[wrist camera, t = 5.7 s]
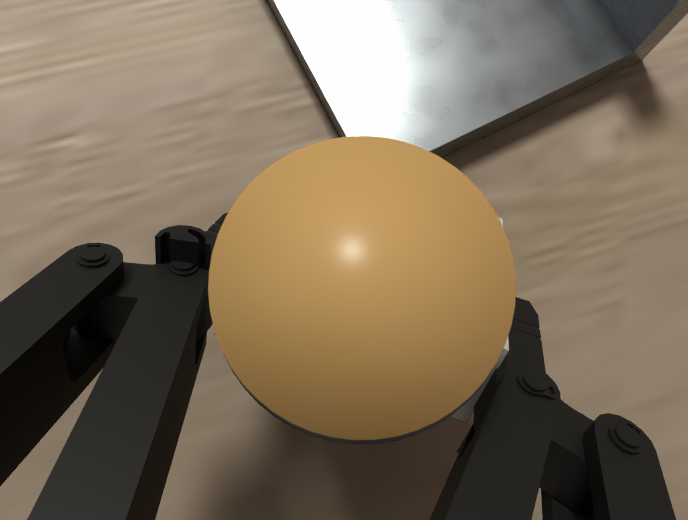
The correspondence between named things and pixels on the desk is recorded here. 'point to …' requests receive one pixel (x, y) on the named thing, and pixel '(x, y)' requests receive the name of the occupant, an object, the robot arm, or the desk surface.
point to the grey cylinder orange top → (362, 289)
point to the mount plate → (462, 59)
